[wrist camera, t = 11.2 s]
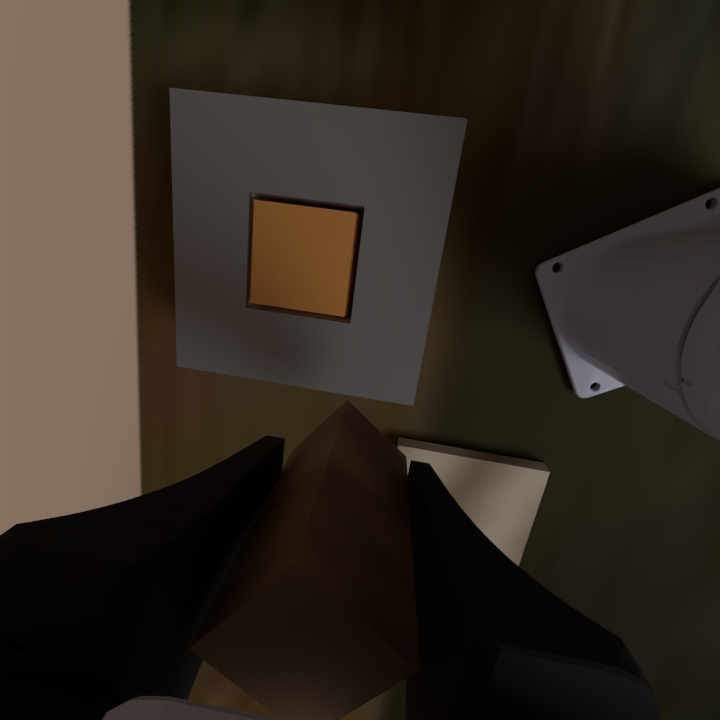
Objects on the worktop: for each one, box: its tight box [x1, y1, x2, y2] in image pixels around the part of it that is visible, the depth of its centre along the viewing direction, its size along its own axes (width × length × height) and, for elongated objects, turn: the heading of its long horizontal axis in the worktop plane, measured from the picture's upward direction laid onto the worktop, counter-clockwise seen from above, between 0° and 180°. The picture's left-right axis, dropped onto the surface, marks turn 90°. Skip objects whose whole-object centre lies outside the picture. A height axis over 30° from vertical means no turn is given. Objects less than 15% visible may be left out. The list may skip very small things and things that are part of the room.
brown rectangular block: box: [189, 401, 420, 720], centre depth 10 cm, size 3×3×7 cm
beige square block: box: [397, 437, 550, 566], centre depth 23 cm, size 9×9×1 cm
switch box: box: [169, 88, 468, 406], centre depth 18 cm, size 12×12×4 cm
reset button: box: [250, 200, 363, 317], centre depth 17 cm, size 4×4×3 cm
